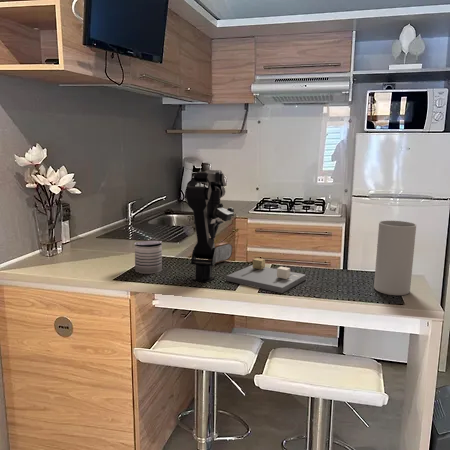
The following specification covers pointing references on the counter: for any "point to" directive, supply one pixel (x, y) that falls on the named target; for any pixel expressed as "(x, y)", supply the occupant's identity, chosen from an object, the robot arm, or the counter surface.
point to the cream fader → (283, 272)
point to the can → (148, 257)
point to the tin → (223, 251)
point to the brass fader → (258, 263)
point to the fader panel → (265, 279)
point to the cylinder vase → (394, 257)
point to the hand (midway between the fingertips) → (212, 238)
